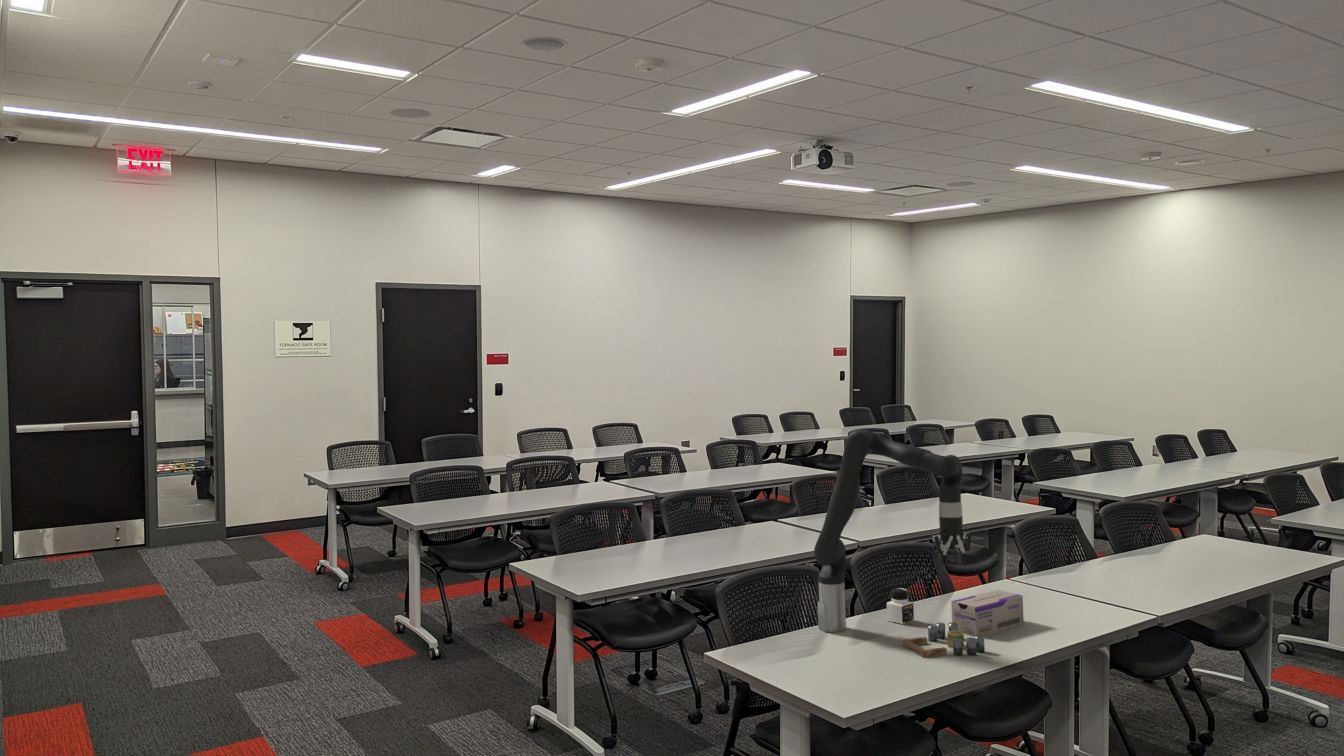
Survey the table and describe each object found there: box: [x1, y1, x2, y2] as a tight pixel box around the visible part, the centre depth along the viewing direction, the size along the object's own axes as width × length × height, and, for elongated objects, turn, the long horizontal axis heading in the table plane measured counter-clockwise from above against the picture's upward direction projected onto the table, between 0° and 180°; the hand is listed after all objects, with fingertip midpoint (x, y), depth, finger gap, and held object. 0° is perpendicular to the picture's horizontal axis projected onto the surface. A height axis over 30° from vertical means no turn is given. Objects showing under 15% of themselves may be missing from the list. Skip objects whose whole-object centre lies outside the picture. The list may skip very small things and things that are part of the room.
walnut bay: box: [901, 636, 948, 659], centre depth 295 cm, size 8×14×2 cm, turn 13°
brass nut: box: [946, 630, 965, 649], centre depth 297 cm, size 6×5×4 cm
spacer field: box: [927, 621, 986, 657], centre depth 297 cm, size 11×22×5 cm, turn 13°
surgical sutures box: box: [950, 589, 1025, 638], centre depth 317 cm, size 25×11×11 cm, turn 121°
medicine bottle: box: [886, 587, 915, 625], centre depth 329 cm, size 7×7×12 cm
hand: (952, 564), depth 297 cm, fingers open, 5 cm apart
